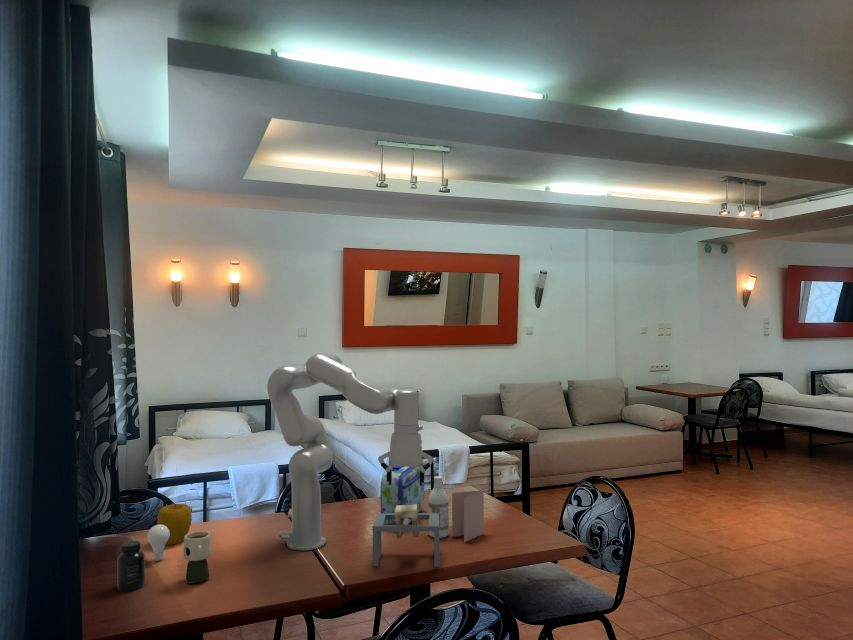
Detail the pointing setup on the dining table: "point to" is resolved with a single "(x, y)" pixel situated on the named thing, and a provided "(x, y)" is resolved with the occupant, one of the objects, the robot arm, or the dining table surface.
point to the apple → (175, 521)
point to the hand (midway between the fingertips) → (405, 484)
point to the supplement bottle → (130, 567)
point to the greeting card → (468, 514)
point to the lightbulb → (158, 540)
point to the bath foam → (439, 507)
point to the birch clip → (406, 512)
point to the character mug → (197, 555)
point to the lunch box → (401, 490)
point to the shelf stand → (380, 527)
